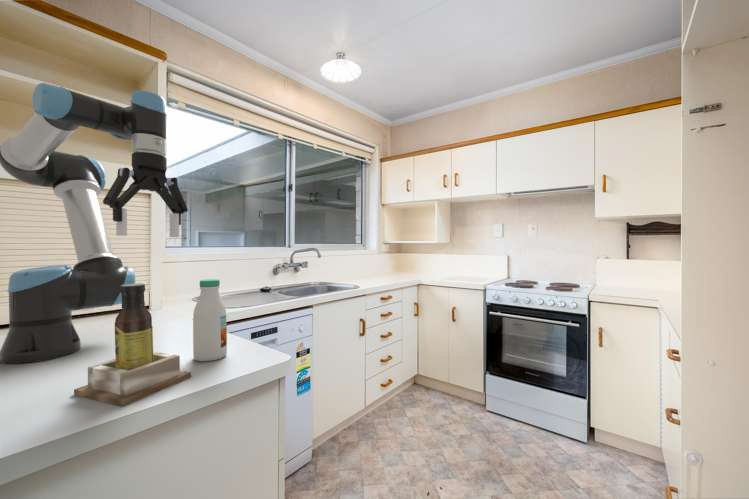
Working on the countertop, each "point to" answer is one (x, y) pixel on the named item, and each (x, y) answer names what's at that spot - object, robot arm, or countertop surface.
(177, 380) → the socket board
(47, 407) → the countertop surface
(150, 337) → the sauce bottle
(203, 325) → the milk bottle
